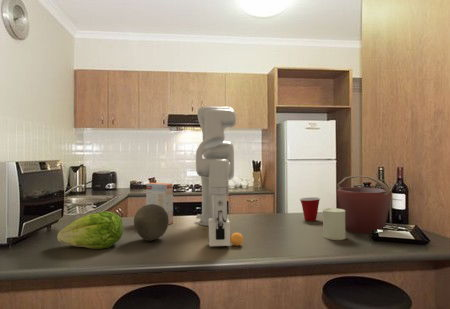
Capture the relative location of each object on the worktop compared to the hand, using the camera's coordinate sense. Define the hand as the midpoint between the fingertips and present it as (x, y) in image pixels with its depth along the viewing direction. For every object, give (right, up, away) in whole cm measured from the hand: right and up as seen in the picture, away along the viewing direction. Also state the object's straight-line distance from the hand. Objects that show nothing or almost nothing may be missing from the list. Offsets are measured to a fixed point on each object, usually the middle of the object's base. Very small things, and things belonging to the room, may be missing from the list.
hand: (219, 236), depth 118 cm
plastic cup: (+48, -4, +45) cm, 66 cm away
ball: (+7, -1, +1) cm, 7 cm away
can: (+49, -4, +12) cm, 50 cm away
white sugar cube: (0, -3, 0) cm, 3 cm away
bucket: (+67, -4, +24) cm, 72 cm away
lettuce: (-51, -5, +1) cm, 51 cm away
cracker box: (-32, -4, +41) cm, 52 cm away
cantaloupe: (-28, -4, +8) cm, 30 cm away
